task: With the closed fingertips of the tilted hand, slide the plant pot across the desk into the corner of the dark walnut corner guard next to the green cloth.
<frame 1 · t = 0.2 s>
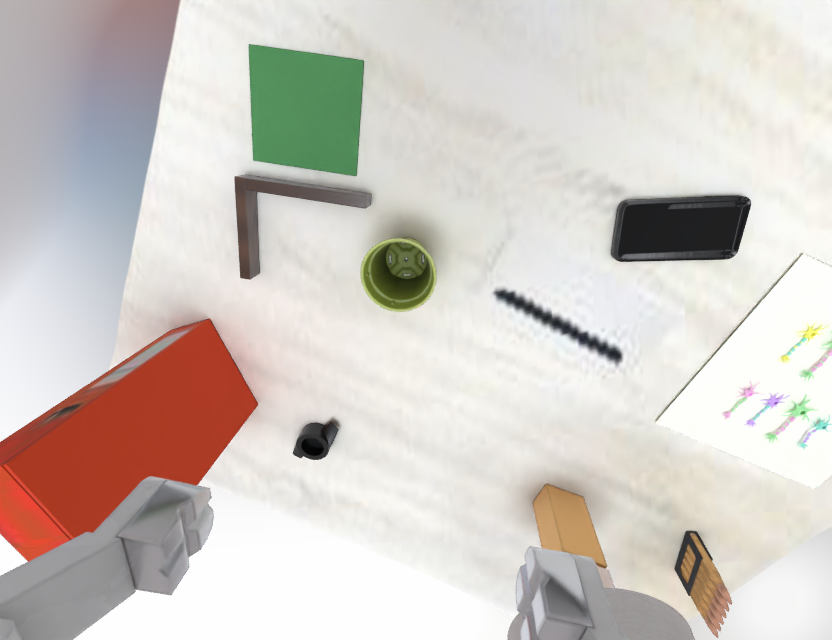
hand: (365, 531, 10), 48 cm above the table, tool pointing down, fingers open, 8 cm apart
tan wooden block: (557, 498, 72), on the table
phone: (674, 228, 51), on the table
green cloth: (305, 113, 50), on the table
ammunition clip: (684, 549, 74), on the table
plant pot: (406, 257, 56), on the table
printed paper: (806, 384, 58), on the table
corner guard: (256, 187, 54), on the table
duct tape: (318, 435, 72), on the table
file binder: (217, 367, 68), on the table
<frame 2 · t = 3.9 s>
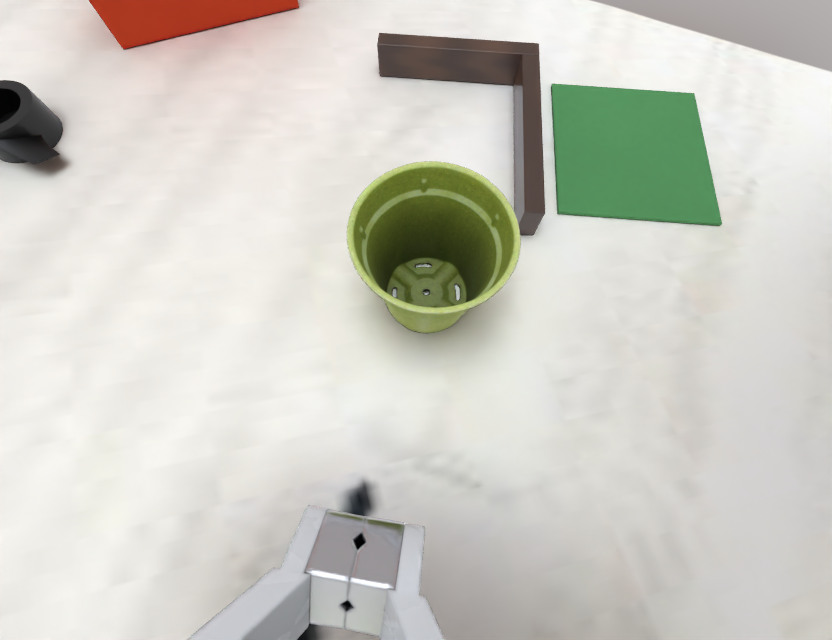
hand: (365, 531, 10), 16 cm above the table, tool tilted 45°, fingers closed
green cloth: (629, 151, 34), on the table
plant pot: (427, 296, 30), on the table
corner guard: (513, 85, 37), on the table
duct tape: (29, 137, 34), on the table
file binder: (207, 6, 40), on the table
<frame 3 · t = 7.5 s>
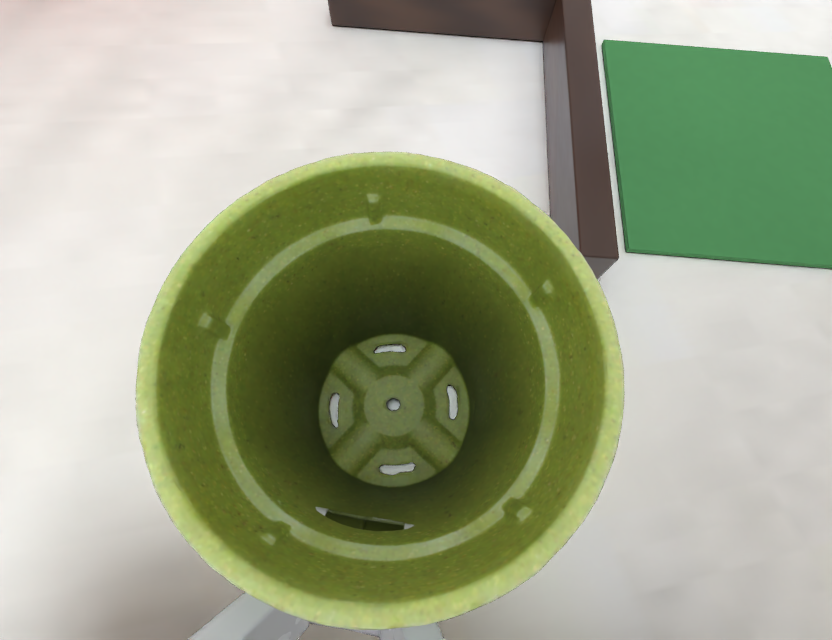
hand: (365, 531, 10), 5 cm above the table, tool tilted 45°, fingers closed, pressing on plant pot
green cloth: (735, 146, 21), on the table
plant pot: (396, 407, 16), on the table, touching gripper
corner guard: (542, 42, 23), on the table
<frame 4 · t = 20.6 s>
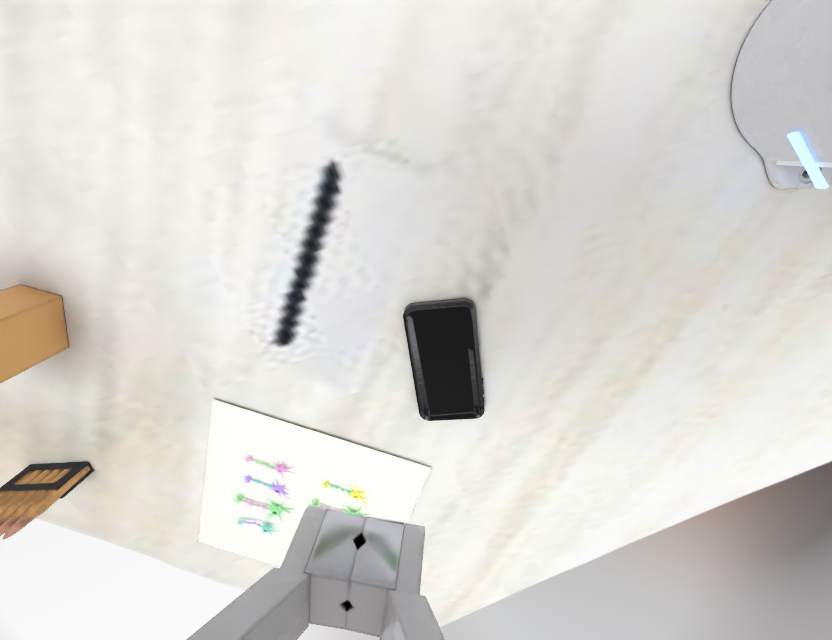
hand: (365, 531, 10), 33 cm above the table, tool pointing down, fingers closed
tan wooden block: (46, 316, 49), on the table
phone: (446, 360, 46), on the table
ammunition clip: (63, 466, 61), on the table
printed paper: (304, 505, 58), on the table
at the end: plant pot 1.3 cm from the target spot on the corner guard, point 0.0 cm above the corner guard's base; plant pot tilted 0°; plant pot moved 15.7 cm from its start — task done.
